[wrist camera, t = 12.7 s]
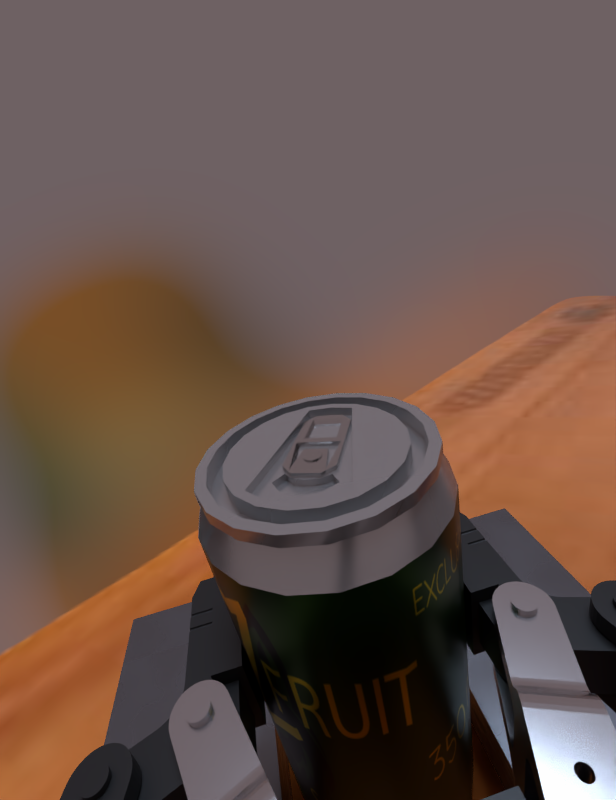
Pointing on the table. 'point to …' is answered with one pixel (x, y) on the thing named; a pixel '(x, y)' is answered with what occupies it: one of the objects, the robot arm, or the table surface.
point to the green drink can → (347, 591)
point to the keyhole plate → (164, 684)
